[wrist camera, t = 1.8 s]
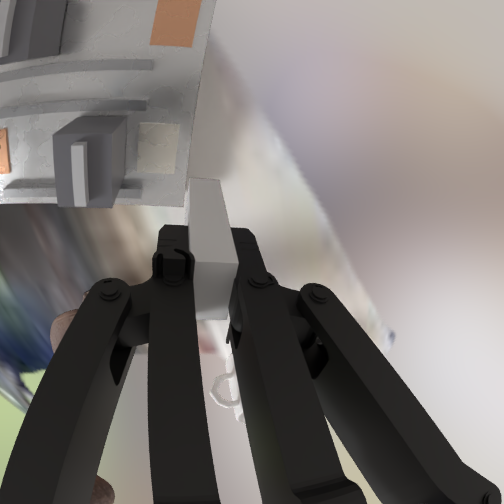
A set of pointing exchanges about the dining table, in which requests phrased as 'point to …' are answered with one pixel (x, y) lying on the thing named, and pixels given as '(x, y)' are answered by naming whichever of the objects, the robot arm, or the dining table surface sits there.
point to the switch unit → (109, 96)
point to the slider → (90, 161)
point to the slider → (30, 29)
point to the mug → (233, 389)
